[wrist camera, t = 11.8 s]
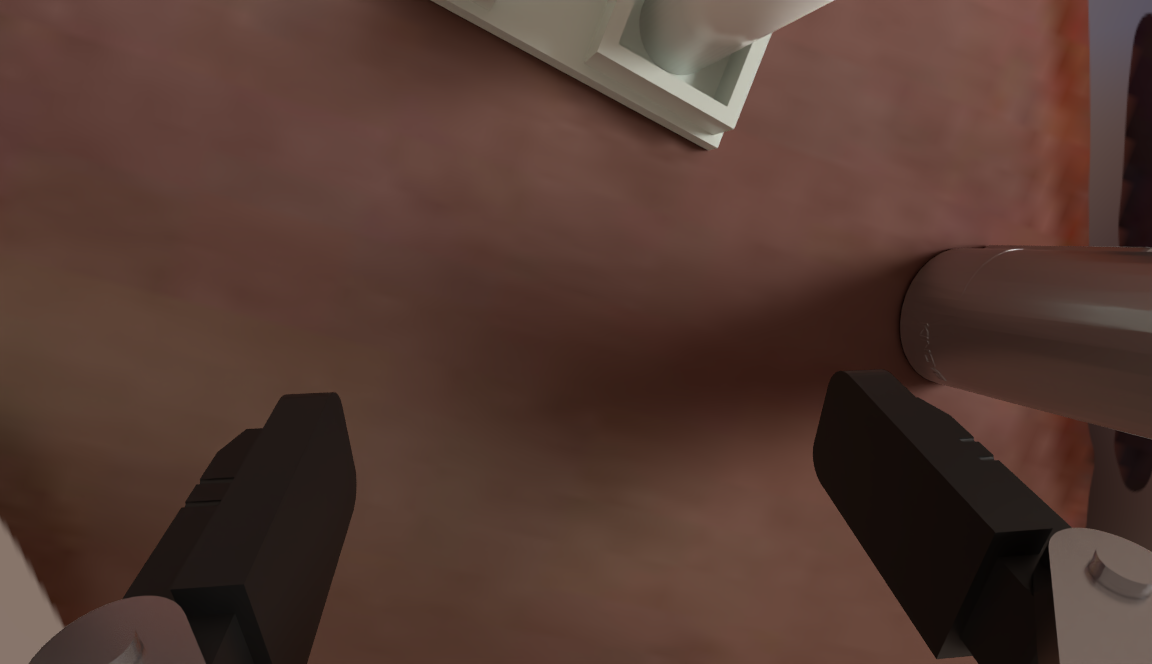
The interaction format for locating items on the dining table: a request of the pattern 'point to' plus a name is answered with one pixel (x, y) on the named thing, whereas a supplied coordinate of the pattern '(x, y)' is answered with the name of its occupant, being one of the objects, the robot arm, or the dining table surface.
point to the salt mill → (711, 28)
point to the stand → (622, 60)
